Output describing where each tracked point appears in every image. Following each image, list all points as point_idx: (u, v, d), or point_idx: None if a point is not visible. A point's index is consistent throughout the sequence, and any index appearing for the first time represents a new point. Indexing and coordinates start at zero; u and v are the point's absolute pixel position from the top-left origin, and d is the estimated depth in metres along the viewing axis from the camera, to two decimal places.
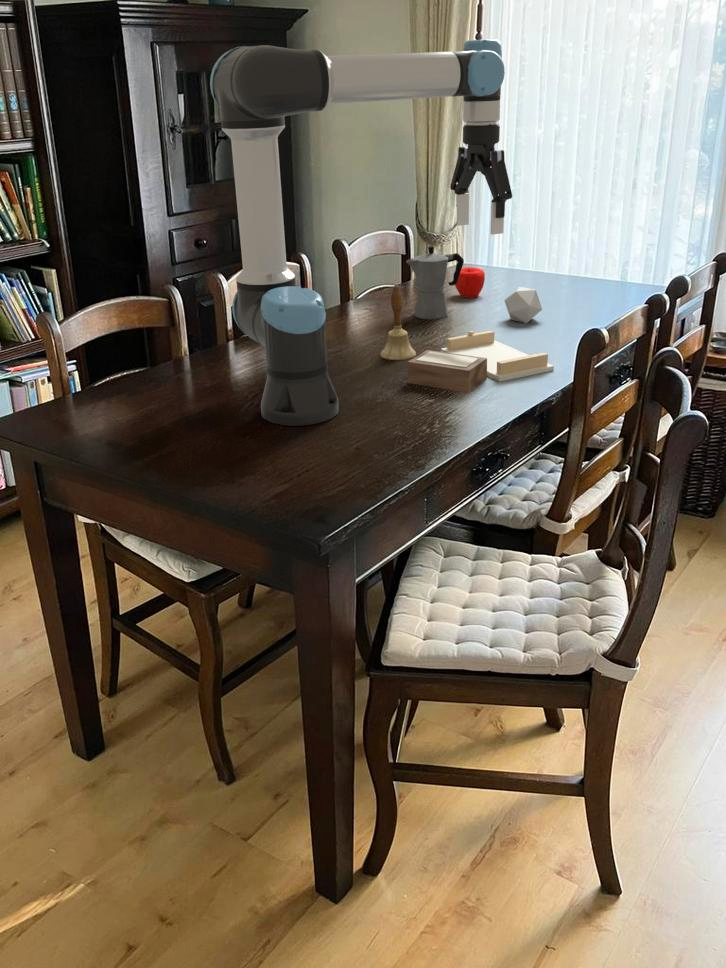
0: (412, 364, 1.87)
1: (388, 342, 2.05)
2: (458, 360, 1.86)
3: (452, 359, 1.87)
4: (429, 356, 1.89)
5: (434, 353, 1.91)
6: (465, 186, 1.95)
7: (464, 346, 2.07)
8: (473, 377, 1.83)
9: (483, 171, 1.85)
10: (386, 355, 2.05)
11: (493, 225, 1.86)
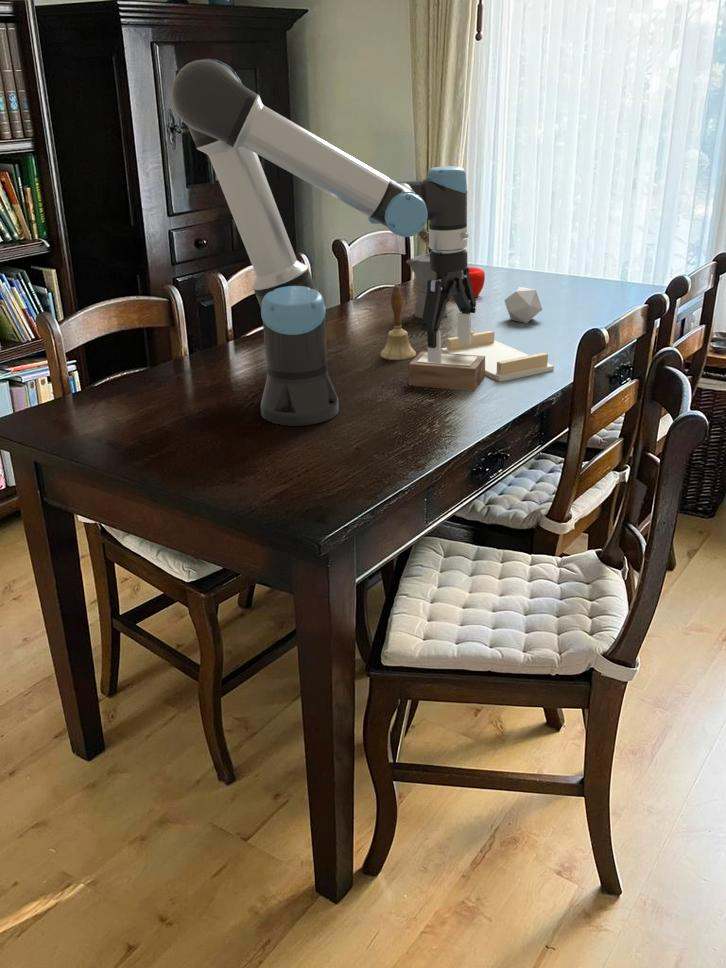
0: (414, 366, 1.86)
1: (388, 342, 2.05)
2: (459, 359, 1.87)
3: (452, 358, 1.87)
4: None
5: None
6: (463, 306, 1.88)
7: (464, 346, 2.07)
8: (477, 376, 1.84)
9: None
10: (386, 355, 2.05)
11: (428, 352, 1.81)
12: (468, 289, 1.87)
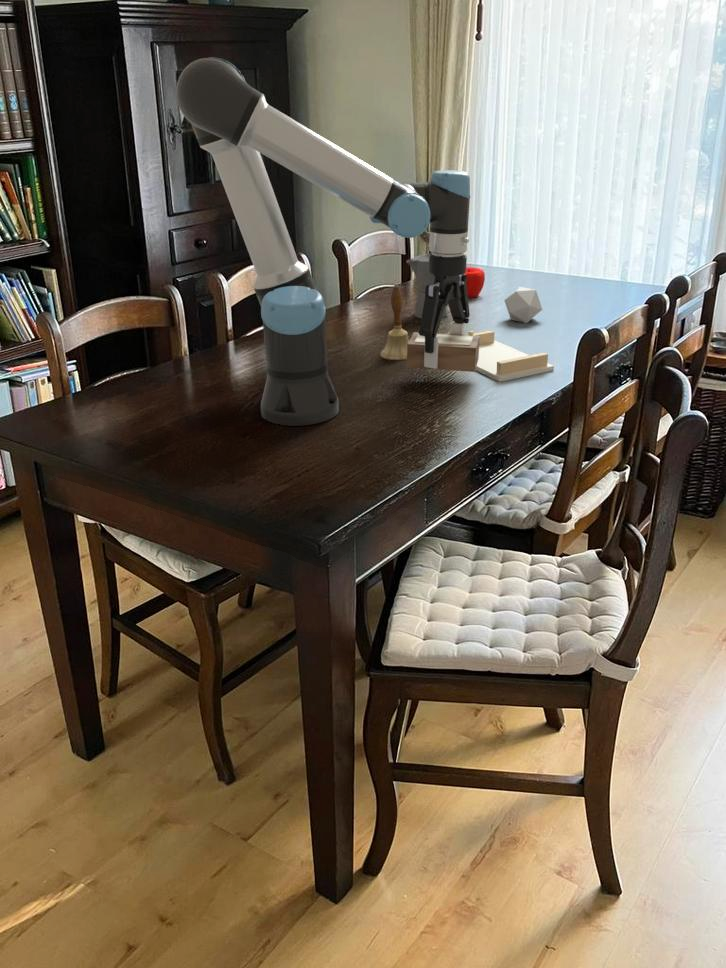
0: (412, 346, 1.83)
1: (388, 342, 2.05)
2: (456, 339, 1.85)
3: (448, 338, 1.86)
4: (423, 337, 1.86)
5: None
6: (457, 315, 1.88)
7: None
8: (476, 355, 1.83)
9: None
10: (386, 355, 2.05)
11: (425, 357, 1.83)
12: (464, 296, 1.87)
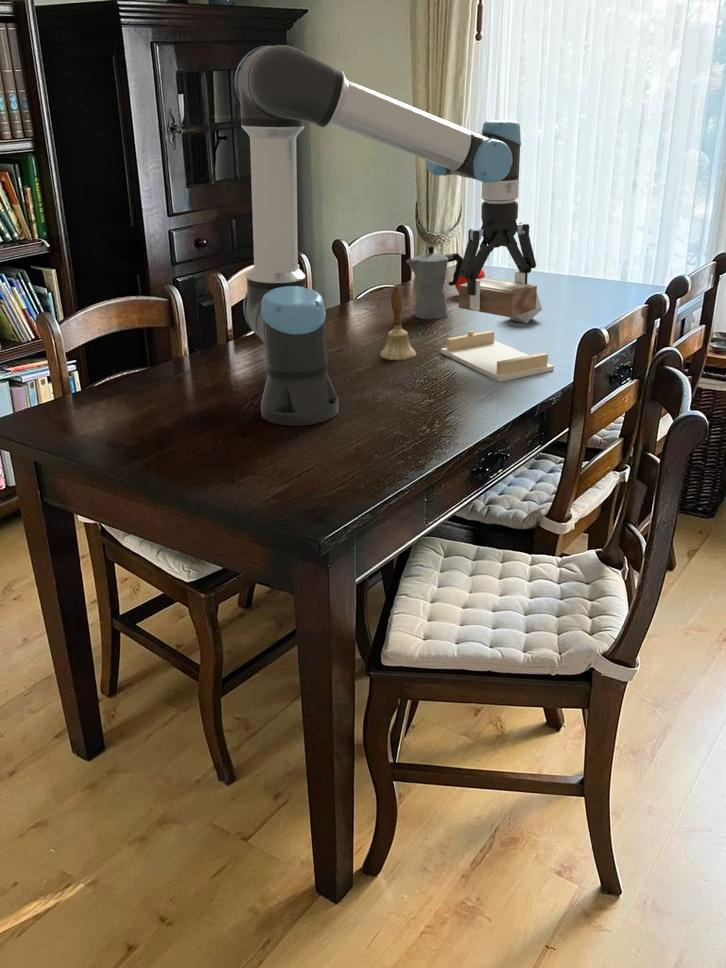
0: (463, 287, 1.94)
1: (388, 342, 2.05)
2: (507, 285, 1.92)
3: (502, 284, 1.93)
4: (481, 282, 1.96)
5: (488, 280, 1.97)
6: (518, 263, 1.93)
7: (464, 346, 2.07)
8: (517, 302, 1.88)
9: None
10: (386, 355, 2.05)
11: (470, 299, 1.93)
12: (526, 246, 1.92)
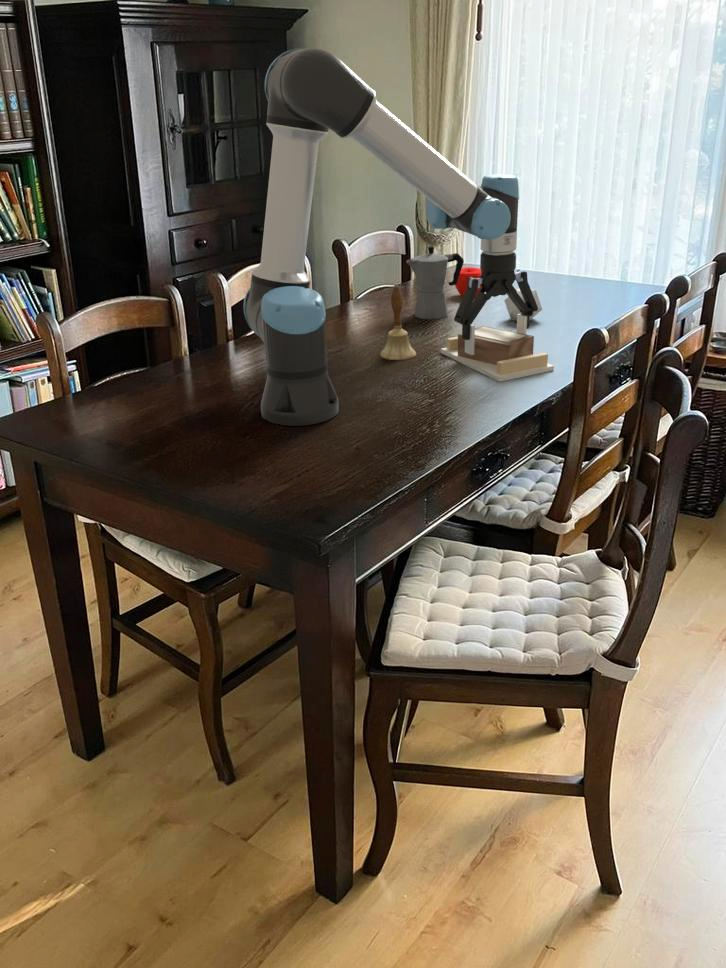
0: None
1: (388, 342, 2.05)
2: (505, 336, 1.96)
3: (500, 334, 1.98)
4: (480, 331, 2.01)
5: (486, 328, 2.02)
6: (520, 308, 1.98)
7: None
8: (514, 352, 1.93)
9: None
10: (386, 355, 2.05)
11: (465, 343, 1.97)
12: (526, 292, 1.96)
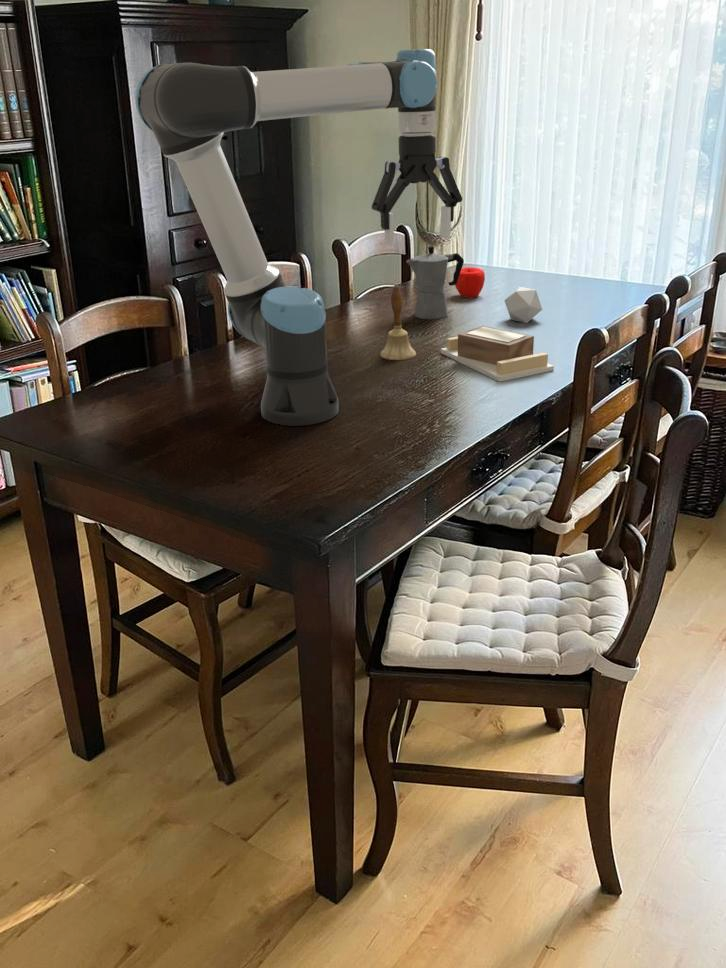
0: (462, 336, 1.99)
1: (388, 342, 2.05)
2: (505, 336, 1.96)
3: (500, 334, 1.98)
4: (480, 331, 2.01)
5: (486, 328, 2.02)
6: (443, 198, 1.89)
7: None
8: (514, 352, 1.93)
9: None
10: (386, 355, 2.05)
11: (385, 235, 1.87)
12: (448, 180, 1.87)
